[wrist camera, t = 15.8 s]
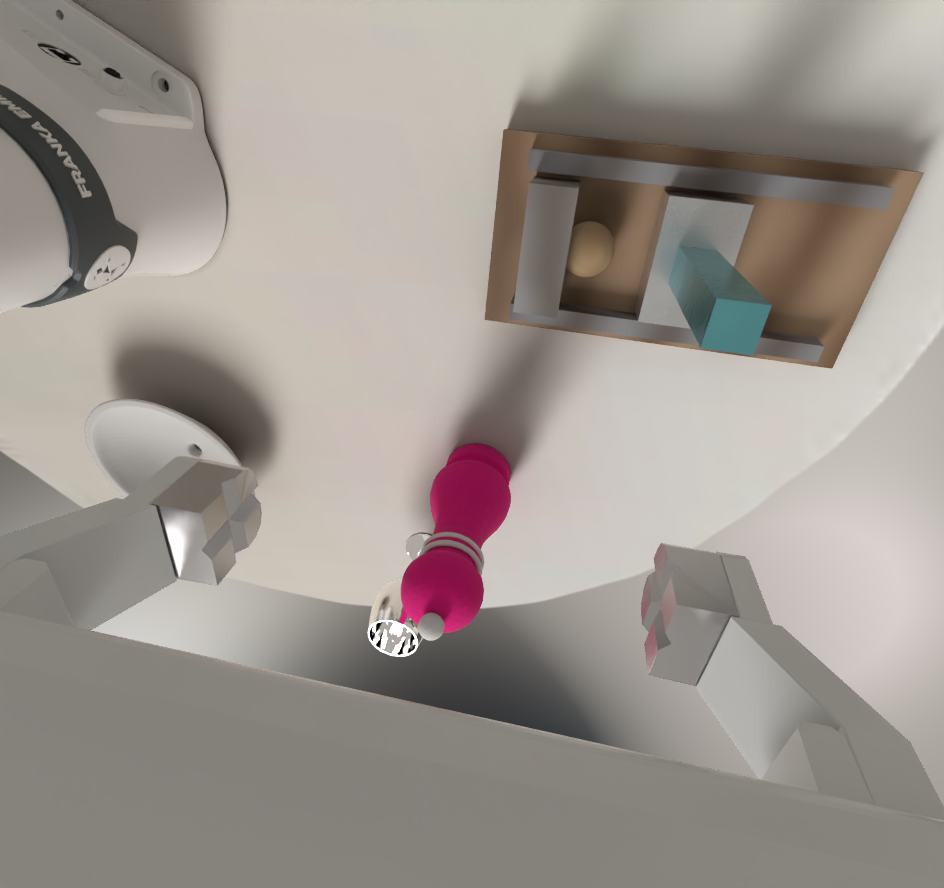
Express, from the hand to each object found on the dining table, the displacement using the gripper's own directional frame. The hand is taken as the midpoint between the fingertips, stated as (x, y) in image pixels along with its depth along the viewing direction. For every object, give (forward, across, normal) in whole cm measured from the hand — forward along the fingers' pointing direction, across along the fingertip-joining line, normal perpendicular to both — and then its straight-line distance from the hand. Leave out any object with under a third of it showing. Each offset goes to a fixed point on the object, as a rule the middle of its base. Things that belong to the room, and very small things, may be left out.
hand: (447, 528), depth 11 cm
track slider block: (+33, -10, 0) cm, 34 cm away
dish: (+35, +33, +26) cm, 55 cm away
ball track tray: (+35, -9, 0) cm, 36 cm away
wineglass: (+35, +8, +34) cm, 50 cm away
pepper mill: (+35, +3, +23) cm, 42 cm away
